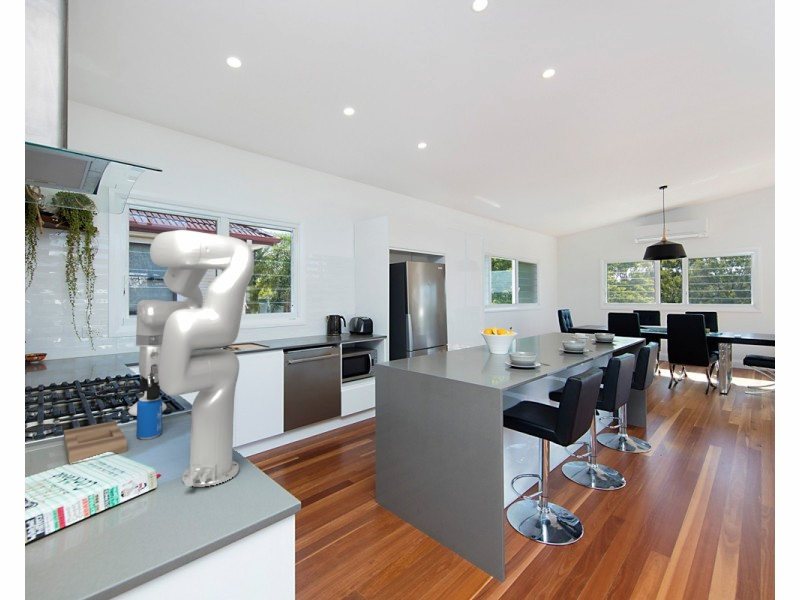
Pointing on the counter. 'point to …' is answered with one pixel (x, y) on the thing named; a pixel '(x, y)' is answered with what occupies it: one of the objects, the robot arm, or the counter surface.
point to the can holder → (93, 441)
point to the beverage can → (149, 418)
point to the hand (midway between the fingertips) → (149, 394)
